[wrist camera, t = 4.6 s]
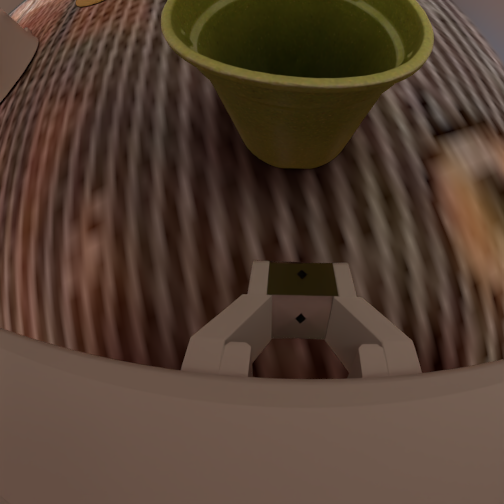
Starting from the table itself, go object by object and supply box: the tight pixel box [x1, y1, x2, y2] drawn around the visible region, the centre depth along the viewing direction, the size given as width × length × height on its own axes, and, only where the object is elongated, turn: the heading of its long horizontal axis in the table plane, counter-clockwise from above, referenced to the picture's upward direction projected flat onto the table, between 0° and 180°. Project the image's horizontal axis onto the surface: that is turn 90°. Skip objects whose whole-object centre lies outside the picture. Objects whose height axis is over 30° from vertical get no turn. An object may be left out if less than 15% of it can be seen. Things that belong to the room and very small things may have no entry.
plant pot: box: [161, 0, 434, 169], centre depth 11 cm, size 9×9×9 cm
